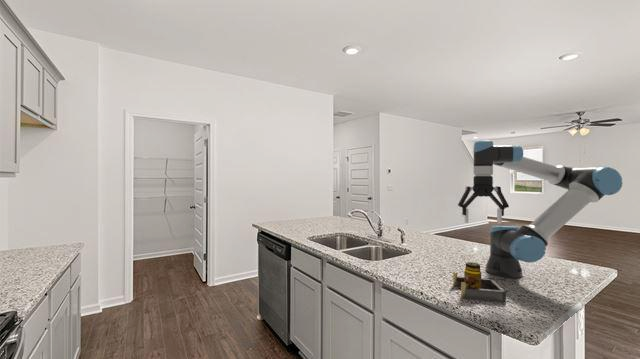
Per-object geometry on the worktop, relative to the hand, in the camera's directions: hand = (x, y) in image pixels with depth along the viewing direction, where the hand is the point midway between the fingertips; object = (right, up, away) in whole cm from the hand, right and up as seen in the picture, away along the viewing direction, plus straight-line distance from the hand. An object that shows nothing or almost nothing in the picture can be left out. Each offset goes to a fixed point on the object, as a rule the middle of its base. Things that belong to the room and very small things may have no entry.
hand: (482, 223), depth 128 cm
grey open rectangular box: (-9, -27, -13) cm, 31 cm away
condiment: (-11, -27, -11) cm, 31 cm away
